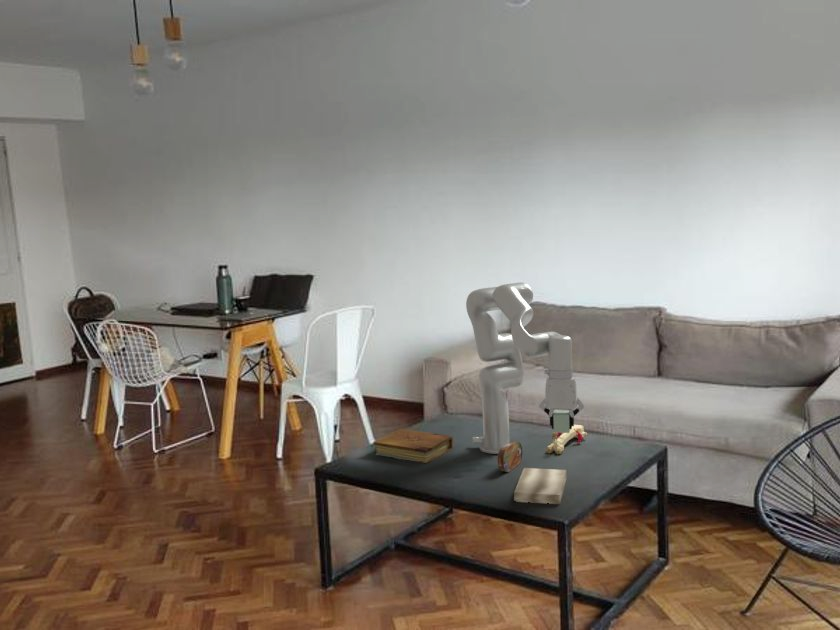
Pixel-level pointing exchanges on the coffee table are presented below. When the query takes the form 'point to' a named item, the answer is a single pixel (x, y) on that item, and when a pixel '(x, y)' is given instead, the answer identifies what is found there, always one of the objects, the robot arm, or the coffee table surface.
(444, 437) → the diary
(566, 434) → the cream elongated piece
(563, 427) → the block
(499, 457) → the tin
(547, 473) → the base block
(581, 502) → the coffee table surface
